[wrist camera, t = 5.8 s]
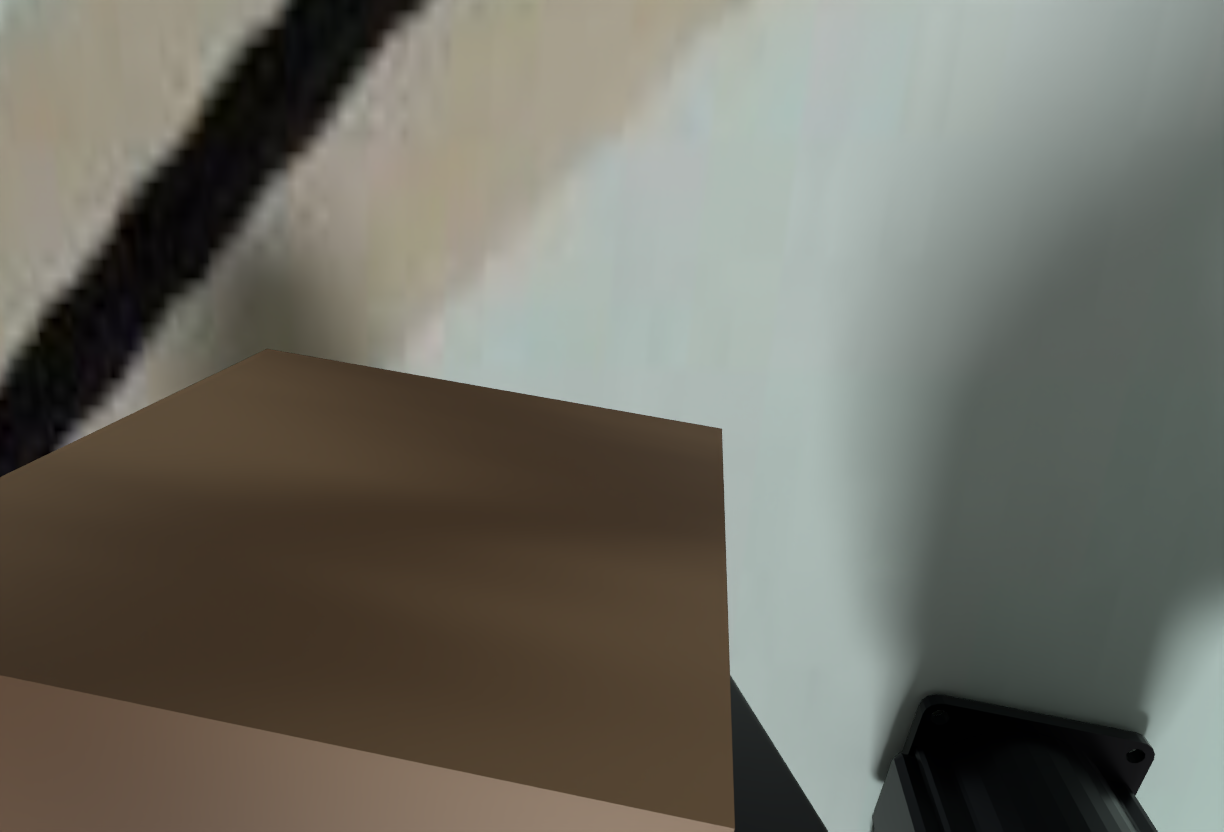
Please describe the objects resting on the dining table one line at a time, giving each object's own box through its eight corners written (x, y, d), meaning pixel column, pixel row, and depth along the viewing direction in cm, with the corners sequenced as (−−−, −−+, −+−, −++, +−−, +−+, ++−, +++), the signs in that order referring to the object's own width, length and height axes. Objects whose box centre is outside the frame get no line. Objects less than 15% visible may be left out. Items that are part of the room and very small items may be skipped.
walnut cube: (721, 429, 8) (733, 829, 3) (647, 787, 10) (589, 1373, 5) (267, 349, 8) (-286, 613, 4) (273, 710, 10) (-94, 1195, 6)
